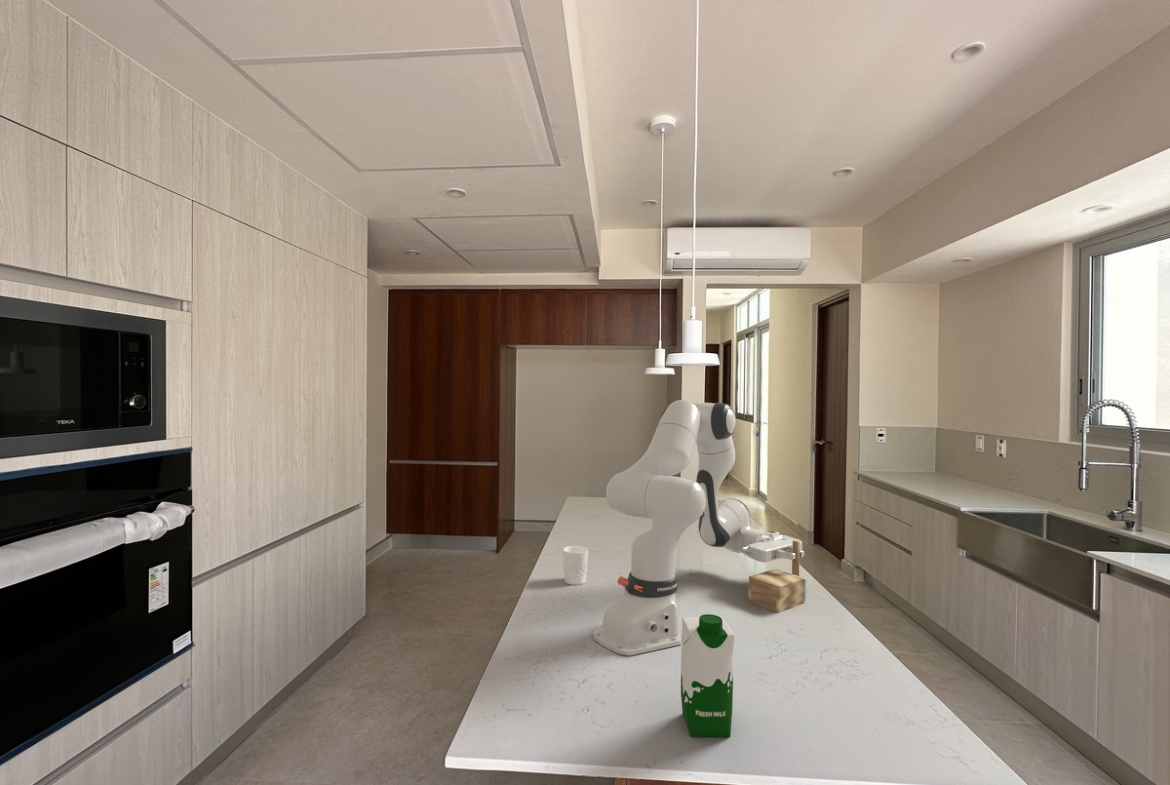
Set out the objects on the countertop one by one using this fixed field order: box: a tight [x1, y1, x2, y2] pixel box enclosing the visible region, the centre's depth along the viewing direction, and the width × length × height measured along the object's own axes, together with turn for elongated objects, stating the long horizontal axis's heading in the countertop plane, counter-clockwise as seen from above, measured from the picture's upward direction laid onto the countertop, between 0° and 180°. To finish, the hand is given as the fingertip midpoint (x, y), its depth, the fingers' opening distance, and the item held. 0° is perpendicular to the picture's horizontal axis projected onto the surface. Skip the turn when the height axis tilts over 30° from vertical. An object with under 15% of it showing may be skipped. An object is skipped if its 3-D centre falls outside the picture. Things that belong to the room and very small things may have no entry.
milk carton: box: [680, 613, 735, 738], centre depth 100 cm, size 9×9×20 cm
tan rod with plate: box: [774, 540, 807, 602], centre depth 161 cm, size 15×10×16 cm, turn 127°
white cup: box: [562, 545, 589, 586], centre depth 173 cm, size 8×8×10 cm
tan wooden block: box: [748, 568, 805, 613], centre depth 159 cm, size 12×10×7 cm
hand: (798, 555), depth 164 cm, fingers open, 3 cm apart
